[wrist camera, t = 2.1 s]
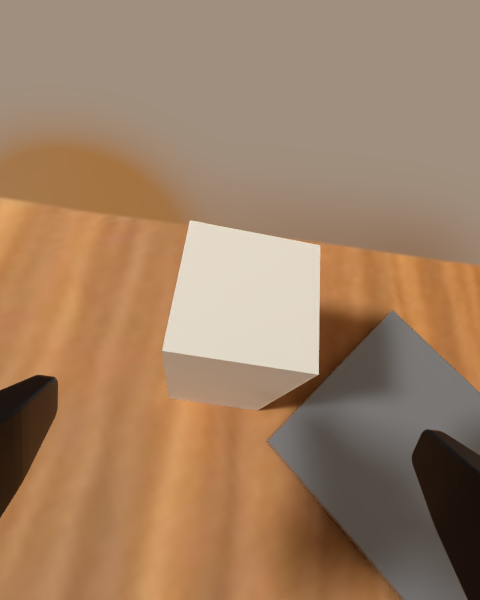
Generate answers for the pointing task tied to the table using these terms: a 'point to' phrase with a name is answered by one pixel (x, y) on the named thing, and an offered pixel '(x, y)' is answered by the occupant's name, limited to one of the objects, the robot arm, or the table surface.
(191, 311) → the cream block
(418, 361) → the slate coaster
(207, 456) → the table surface
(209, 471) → the table surface
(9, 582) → the table surface
